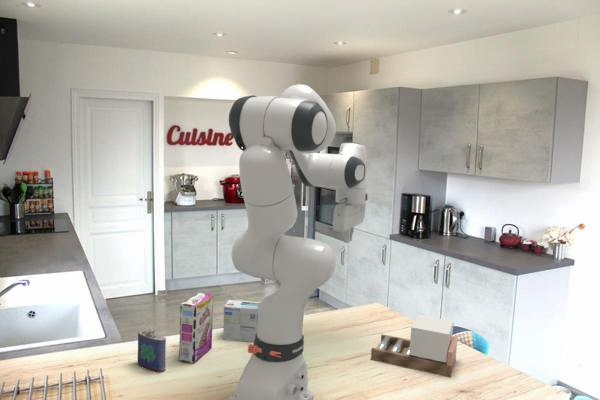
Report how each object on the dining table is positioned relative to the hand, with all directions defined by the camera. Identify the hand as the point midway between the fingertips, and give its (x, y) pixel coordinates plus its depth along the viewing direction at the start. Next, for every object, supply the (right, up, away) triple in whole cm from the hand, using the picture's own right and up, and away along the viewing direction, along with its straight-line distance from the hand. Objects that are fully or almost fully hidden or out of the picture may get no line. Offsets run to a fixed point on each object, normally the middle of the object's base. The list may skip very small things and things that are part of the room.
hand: (347, 241), depth 153 cm
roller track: (+18, -33, -9) cm, 39 cm away
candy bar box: (-44, -31, -11) cm, 55 cm away
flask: (-54, -32, -20) cm, 66 cm away
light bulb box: (-33, -30, +2) cm, 44 cm away
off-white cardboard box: (+23, -30, -11) cm, 39 cm away
